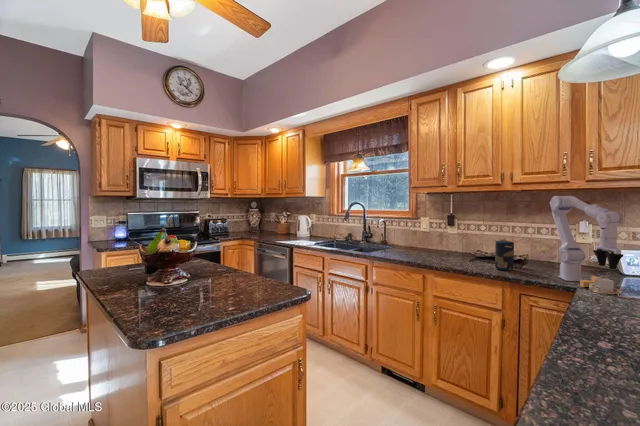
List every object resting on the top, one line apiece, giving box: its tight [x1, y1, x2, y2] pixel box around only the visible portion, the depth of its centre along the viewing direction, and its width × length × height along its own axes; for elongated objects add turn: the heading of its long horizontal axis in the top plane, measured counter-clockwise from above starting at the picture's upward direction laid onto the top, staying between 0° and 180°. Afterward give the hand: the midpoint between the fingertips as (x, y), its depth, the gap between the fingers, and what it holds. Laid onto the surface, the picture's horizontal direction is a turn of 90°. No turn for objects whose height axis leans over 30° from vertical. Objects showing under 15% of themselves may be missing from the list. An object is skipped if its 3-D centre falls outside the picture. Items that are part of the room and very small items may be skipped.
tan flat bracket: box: [588, 285, 621, 295], centre depth 138 cm, size 6×8×2 cm
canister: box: [494, 239, 515, 271], centre depth 184 cm, size 10×10×18 cm
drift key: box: [579, 275, 601, 288], centre depth 146 cm, size 4×6×5 cm
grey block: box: [595, 278, 615, 292], centre depth 138 cm, size 4×5×5 cm
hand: (607, 267), depth 142 cm, fingers open, 7 cm apart
